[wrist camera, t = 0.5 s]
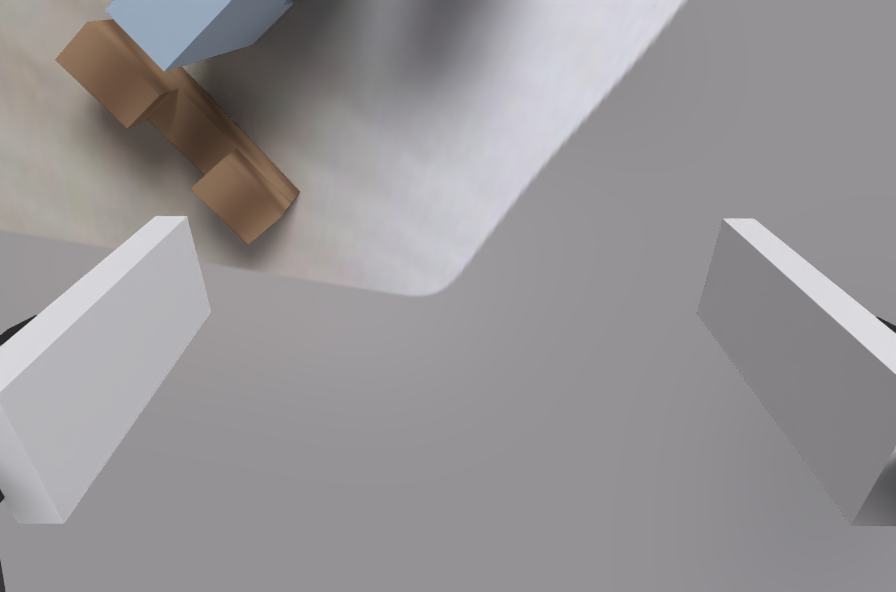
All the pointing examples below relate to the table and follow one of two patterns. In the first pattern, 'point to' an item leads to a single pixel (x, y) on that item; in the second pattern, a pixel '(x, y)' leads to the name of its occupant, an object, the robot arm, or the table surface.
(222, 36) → the pale blue upright slab
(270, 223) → the walnut u-shaped block
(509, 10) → the table surface
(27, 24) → the table surface
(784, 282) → the robot arm
